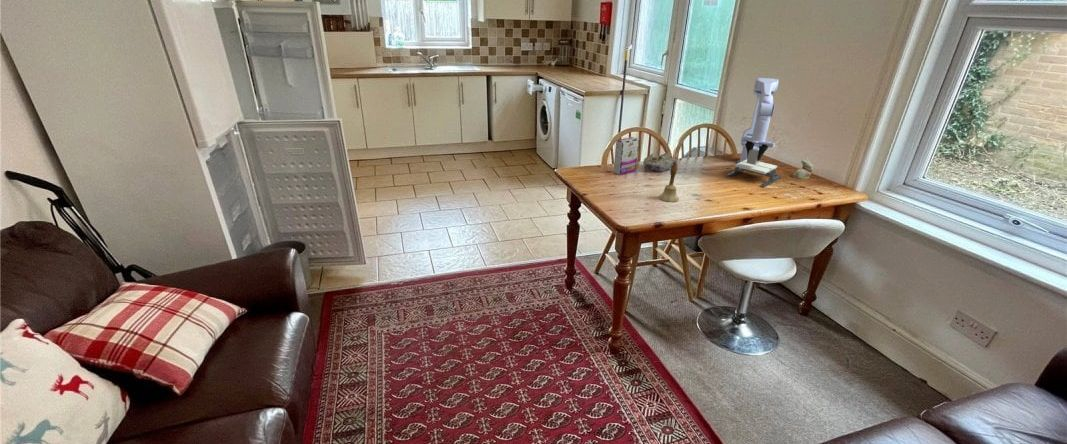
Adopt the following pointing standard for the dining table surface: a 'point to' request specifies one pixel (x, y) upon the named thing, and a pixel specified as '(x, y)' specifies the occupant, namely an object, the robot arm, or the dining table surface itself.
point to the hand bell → (670, 187)
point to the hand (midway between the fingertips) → (753, 159)
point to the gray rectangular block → (753, 156)
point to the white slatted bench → (772, 175)
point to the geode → (659, 162)
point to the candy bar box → (626, 155)
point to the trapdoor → (756, 167)
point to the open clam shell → (804, 170)
